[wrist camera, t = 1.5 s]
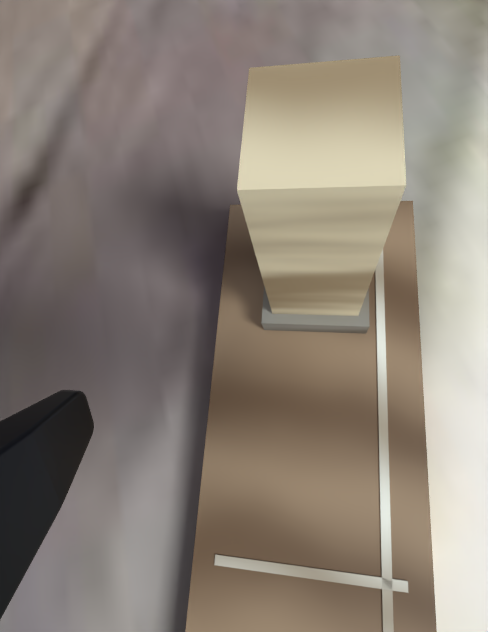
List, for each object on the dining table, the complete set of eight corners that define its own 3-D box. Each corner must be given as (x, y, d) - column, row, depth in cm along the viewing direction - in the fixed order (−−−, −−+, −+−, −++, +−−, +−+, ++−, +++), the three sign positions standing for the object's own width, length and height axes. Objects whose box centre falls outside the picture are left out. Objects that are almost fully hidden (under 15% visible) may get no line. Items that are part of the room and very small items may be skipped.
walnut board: (432, 755, 15) (445, 788, 14) (186, 704, 17) (174, 728, 16) (406, 216, 23) (412, 200, 21) (234, 218, 24) (230, 204, 23)
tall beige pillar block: (366, 333, 19) (430, 203, 9) (264, 330, 20) (215, 207, 10) (364, 241, 21) (419, 39, 10) (270, 242, 22) (233, 56, 11)
